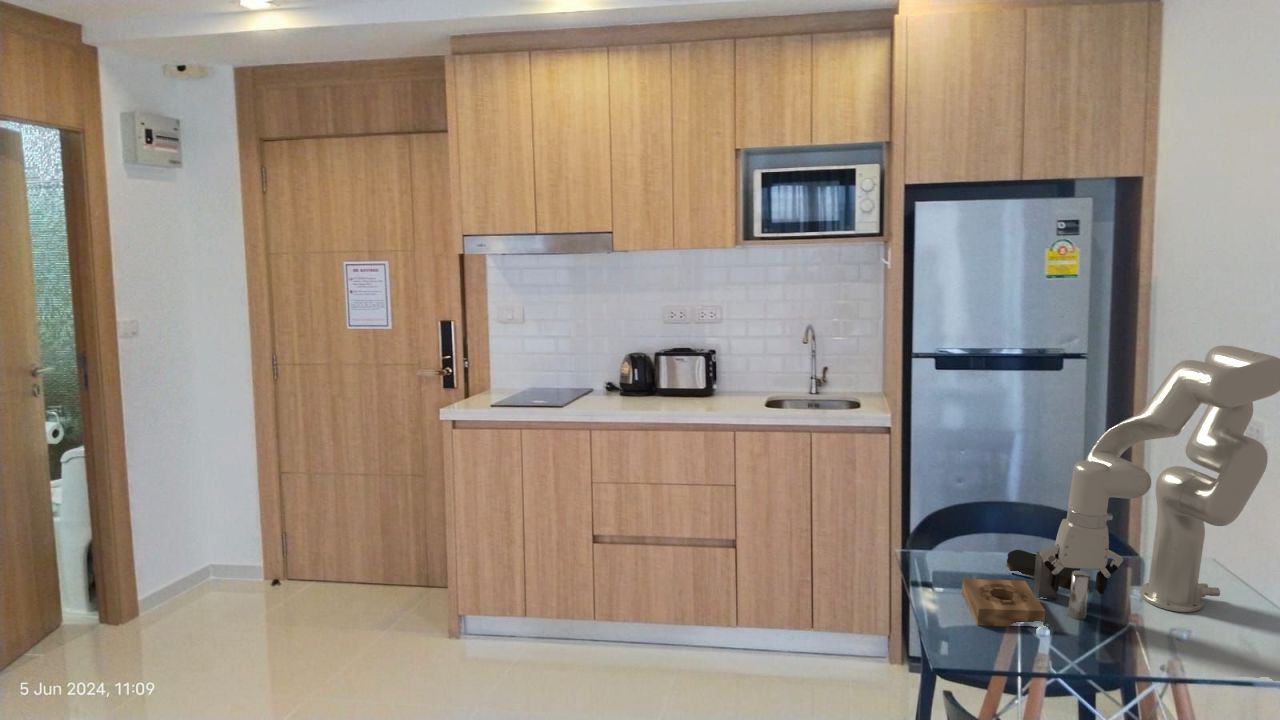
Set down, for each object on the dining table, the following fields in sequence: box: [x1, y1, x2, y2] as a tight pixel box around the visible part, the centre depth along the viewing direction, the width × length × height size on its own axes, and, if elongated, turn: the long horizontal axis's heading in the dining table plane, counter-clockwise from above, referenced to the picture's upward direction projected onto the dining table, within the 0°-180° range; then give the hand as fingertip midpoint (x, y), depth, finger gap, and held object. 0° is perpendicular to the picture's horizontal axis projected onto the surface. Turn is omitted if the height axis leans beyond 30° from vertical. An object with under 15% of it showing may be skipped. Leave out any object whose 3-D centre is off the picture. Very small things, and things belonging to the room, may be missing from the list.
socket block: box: [961, 578, 1046, 627], centre depth 202 cm, size 14×14×4 cm
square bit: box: [1032, 551, 1059, 601], centre depth 208 cm, size 4×4×10 cm
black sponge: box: [1005, 549, 1081, 589], centre depth 219 cm, size 16×8×4 cm, turn 53°
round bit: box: [1067, 570, 1091, 620], centre depth 199 cm, size 4×4×10 cm
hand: (1076, 590), depth 198 cm, fingers open, 9 cm apart
